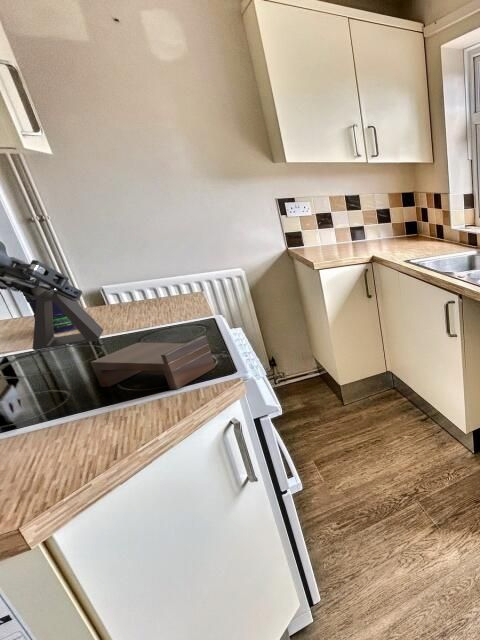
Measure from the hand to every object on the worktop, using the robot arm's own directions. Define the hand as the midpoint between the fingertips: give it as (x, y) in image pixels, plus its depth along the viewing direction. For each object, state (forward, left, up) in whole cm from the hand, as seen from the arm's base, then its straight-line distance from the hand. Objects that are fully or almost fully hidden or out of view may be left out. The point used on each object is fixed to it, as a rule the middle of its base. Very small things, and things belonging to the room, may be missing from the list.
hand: (62, 296), depth 80 cm
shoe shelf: (+4, +9, -21) cm, 24 cm away
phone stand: (0, -2, -9) cm, 9 cm away
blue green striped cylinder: (-56, +38, -22) cm, 71 cm away
